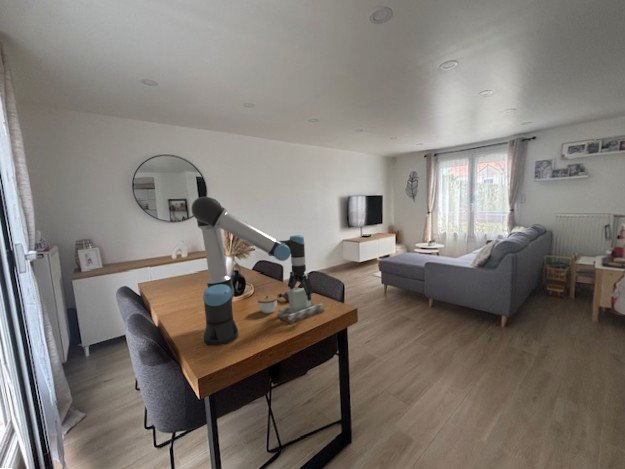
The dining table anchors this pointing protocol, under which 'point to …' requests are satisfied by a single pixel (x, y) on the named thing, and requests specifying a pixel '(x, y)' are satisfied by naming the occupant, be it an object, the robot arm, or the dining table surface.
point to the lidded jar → (267, 303)
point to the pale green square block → (298, 300)
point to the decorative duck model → (285, 294)
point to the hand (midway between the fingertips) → (300, 302)
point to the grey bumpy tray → (300, 313)
